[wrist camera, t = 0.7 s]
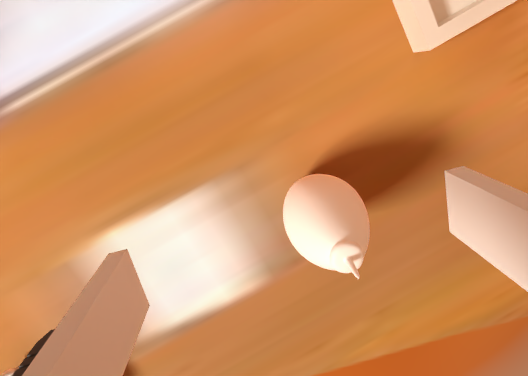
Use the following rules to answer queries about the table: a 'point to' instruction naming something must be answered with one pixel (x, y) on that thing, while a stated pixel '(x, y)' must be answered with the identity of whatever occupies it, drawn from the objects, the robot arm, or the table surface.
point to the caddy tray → (442, 19)
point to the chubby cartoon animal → (10, 372)
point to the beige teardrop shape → (327, 222)
